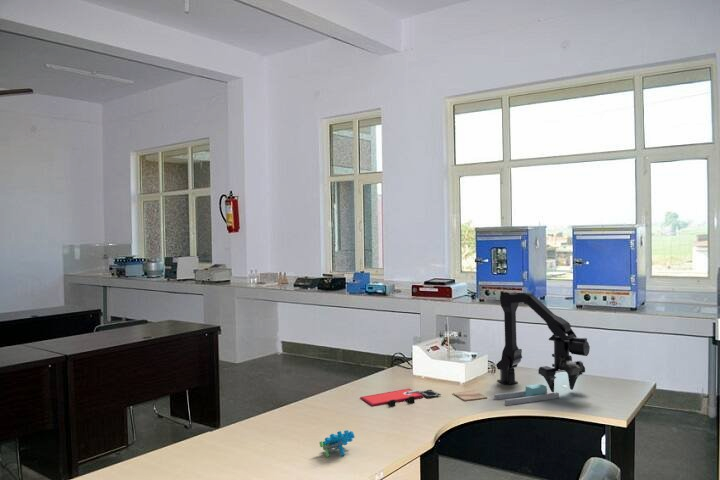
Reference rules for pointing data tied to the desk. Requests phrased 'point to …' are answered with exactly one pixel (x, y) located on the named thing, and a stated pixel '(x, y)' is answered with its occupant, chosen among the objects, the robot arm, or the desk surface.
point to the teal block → (536, 390)
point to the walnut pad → (469, 395)
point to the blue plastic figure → (337, 441)
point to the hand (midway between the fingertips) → (562, 390)
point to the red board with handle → (397, 397)
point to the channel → (523, 399)
